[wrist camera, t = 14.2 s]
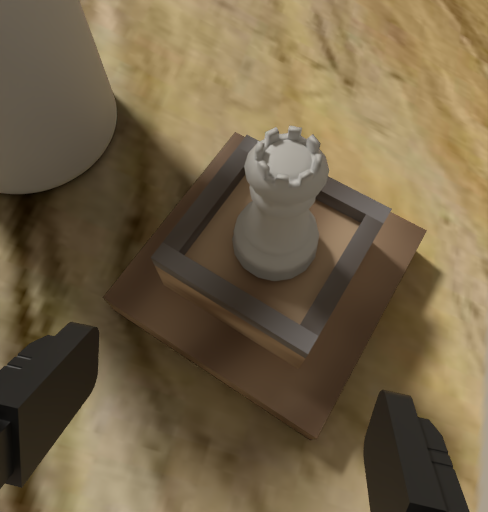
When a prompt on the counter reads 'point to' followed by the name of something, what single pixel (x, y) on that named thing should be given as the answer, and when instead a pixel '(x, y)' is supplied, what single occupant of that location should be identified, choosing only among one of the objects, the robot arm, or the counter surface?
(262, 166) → the rook chess piece
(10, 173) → the cylinder vase
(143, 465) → the counter surface
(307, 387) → the walnut plinth
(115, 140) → the counter surface
